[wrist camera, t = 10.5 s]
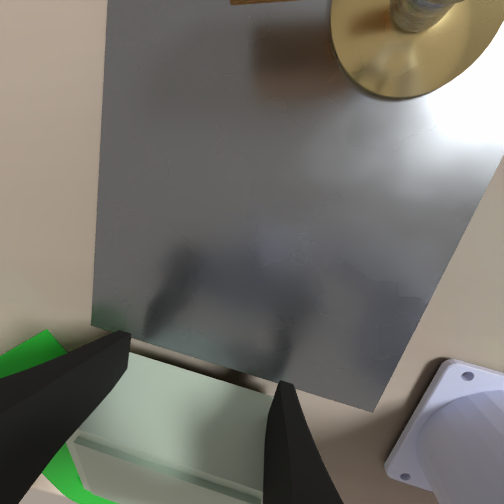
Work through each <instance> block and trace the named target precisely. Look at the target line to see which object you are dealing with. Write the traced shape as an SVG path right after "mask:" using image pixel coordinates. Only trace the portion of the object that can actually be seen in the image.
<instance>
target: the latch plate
mask: <svg viewBox="0 0 504 504" xmlns="http://www.w3.org/2000/svg"><path fill="white" fill-rule="evenodd" d="M503 155H504V0H465V1H462V2H459V3H455V5H454V6H453V7H452V8H451V9H450V10H449V11H448V12H447V13H446V14H445V16H444V17H443V18H442V19H441V20H440V21H439V22H438V23H437V24H435V25H434V26H432V27H430V28H429V29H426V30H424V31H420V32H409V31H406V30H403V29H402V28H400V27H399V26H398V25H397V24H396V23H395V22H394V20H393V18H392V16H391V12H390V0H299V1H286V2H272V3H258V4H245V5H231V4H230V0H108V7H107V26H106V46H105V65H104V85H103V105H102V124H101V144H100V163H99V183H98V203H97V222H96V242H95V261H94V281H93V301H92V320H91V325H92V326H95V327H98V328H101V329H104V330H108V331H111V332H116V331H118V330H121V331H125V332H128V333H131V338H134V339H137V340H140V341H143V342H146V343H150V344H153V345H156V346H159V347H163V348H166V349H169V350H172V351H175V352H179V353H182V354H185V355H188V356H192V357H195V358H198V359H201V360H205V361H208V362H211V363H214V364H217V365H221V366H224V367H227V368H230V369H234V370H237V371H240V372H243V373H246V374H250V375H253V376H256V377H259V378H263V379H266V380H269V381H272V382H275V383H279V380H282V381H285V382H288V383H292V384H293V385H294V387H295V389H298V390H301V391H305V392H308V393H311V394H314V395H317V396H321V397H324V398H327V399H330V400H334V401H337V402H340V403H343V404H346V405H350V406H353V407H356V408H359V409H363V410H366V411H369V412H372V413H373V412H374V410H375V408H376V406H377V404H378V402H379V400H380V398H381V396H382V394H383V392H384V390H385V388H386V386H387V384H388V382H389V380H390V378H391V376H392V374H393V372H394V370H395V368H396V366H397V364H398V362H399V360H400V358H401V356H402V354H403V352H404V350H405V348H406V346H407V344H408V342H409V340H410V339H411V337H412V335H413V333H414V331H415V329H416V327H417V325H418V323H419V321H420V319H421V317H422V315H423V313H424V311H425V309H426V307H427V305H428V303H429V301H430V299H431V297H432V295H433V293H434V291H435V289H436V287H437V285H438V283H439V281H440V279H441V277H442V275H443V273H444V271H445V269H446V267H447V265H448V263H449V261H450V259H451V257H452V255H453V254H454V252H455V250H456V248H457V246H458V244H459V242H460V240H461V238H462V236H463V234H464V232H465V230H466V228H467V226H468V224H469V222H470V220H471V218H472V216H473V214H474V212H475V210H476V208H477V206H478V204H479V202H480V200H481V198H482V196H483V194H484V192H485V190H486V188H487V186H488V184H489V182H490V180H491V178H492V176H493V174H494V172H495V171H496V169H497V167H498V165H499V163H500V161H501V159H502V157H503Z"/></svg>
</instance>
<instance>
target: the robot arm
mask: <svg viewBox="0 0 504 504" xmlns="http://www.w3.org/2000/svg"><path fill="white" fill-rule="evenodd" d="M130 342H131V333H128V332H125V331H121V330H118V331H116V332H113V333H111V334H109V335H107V336H104V337H102V338H100V339H98V340H96V341H93V342H91V343H89V344H87V345H84V346H82V347H80V348H78V349H75V350H73V351H71V352H69V353H66V354H64V355H61V356H59V357H56V358H54V359H52V360H49V361H47V362H44V363H42V364H39V365H37V366H34V367H31V368H29V369H26V370H23V371H20V372H18V373H15V374H12V375H9V376H6V377H3V378H0V504H18V503H19V502H20V501H21V499H22V498H23V497H24V495H25V494H26V493H27V491H28V490H29V489H30V487H31V486H32V485H33V483H34V482H35V481H36V479H37V478H38V477H39V475H40V474H41V473H42V471H43V470H44V469H45V468H46V466H47V465H48V464H49V462H50V461H51V460H52V458H53V457H54V456H55V455H56V453H57V452H58V451H59V450H60V449H61V447H62V446H63V445H64V444H65V443H66V441H67V440H68V439H69V438H70V437H71V436H72V435H73V433H74V432H75V431H76V430H77V429H78V428H79V427H80V426H81V425H82V423H83V422H84V421H85V420H86V419H87V418H88V417H89V416H90V414H91V413H92V412H93V411H94V410H95V409H96V408H97V407H98V405H99V404H100V403H101V402H102V401H103V400H104V399H105V398H106V396H107V395H108V394H109V393H110V392H111V391H112V389H113V388H114V387H115V385H116V384H117V383H118V381H119V380H120V378H121V377H122V376H123V374H124V373H125V371H126V370H127V368H128V359H129V350H130ZM465 372H467V373H465ZM463 373H465V374H463ZM462 374H463V375H462ZM384 468H385V471H386V474H387V476H388V477H390V478H391V479H394V480H397V481H400V482H403V483H406V484H409V485H412V486H415V487H418V488H421V489H424V490H427V491H430V492H433V493H434V495H435V497H436V499H437V501H438V503H439V504H504V373H502V372H499V371H495V370H492V369H488V368H485V367H481V366H478V365H474V364H471V363H467V362H464V361H460V360H457V359H449V360H446V361H444V362H443V363H442V364H441V366H440V367H439V369H438V371H437V373H436V374H435V376H434V378H433V380H432V381H431V383H430V385H429V387H428V388H427V390H426V392H425V394H424V395H423V397H422V399H421V401H420V402H419V404H418V406H417V408H416V409H415V411H414V413H413V415H412V417H411V418H410V420H409V422H408V424H407V425H406V427H405V429H404V431H403V432H402V434H401V436H400V438H399V439H398V441H397V443H396V445H395V446H394V448H393V450H392V452H391V453H390V455H389V457H388V459H387V460H386V462H385V464H384ZM263 504H344V503H343V501H342V500H341V498H340V496H339V494H338V492H337V490H336V488H335V486H334V484H333V482H332V480H331V478H330V476H329V474H328V472H327V470H326V467H325V465H324V463H323V461H322V459H321V456H320V454H319V452H318V450H317V447H316V445H315V443H314V440H313V438H312V435H311V433H310V430H309V428H308V425H307V422H306V420H305V417H304V414H303V411H302V408H301V406H300V403H299V400H298V396H297V393H296V390H295V387H294V385H293V384H292V383H288V382H285V381H282V380H279V383H278V386H277V389H276V392H275V395H274V398H273V401H272V404H271V407H270V409H269V412H268V418H267V425H266V433H265V445H264V474H263Z"/></svg>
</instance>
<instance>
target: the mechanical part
mask: <svg viewBox="0 0 504 504" xmlns="http://www.w3.org/2000/svg"><path fill="white" fill-rule="evenodd" d="M66 353H67V352H66V351H65V350H64V348H63V347H62V346H61V345H60V344H59V343H58V341H57V340H56V339H55V338H54V337H53V336H52V335H51V333H50V332H49V331H48V330H47V329H46V330H44V331H43V332H41V333H39V334H38V335H36V336H34V337H32V338H31V339H29V340H27V341H25V342H24V343H22V344H20V345H19V346H17V347H15V348H13V349H12V350H10V351H8V352H6V353H5V354H3V355H1V356H0V378H3V377H6V376H9V375H12V374H15V373H18V372H20V371H23V370H26V369H29V368H31V367H34V366H37V365H39V364H42V363H44V362H47V361H49V360H52V359H54V358H56V357H59V356H61V355H64V354H66ZM42 474H43V475H44V476H45V477H46V478H47V479H48V480H49V481H50V482H51V483H52V484H53V485H54V486H55V487H56V488H57V489H58V490H59V491H60V492H61V493H63V494H64V495H65V496H66V497H68V498H69V499H71V500H73V501H75V502H76V503H79V504H118V503H116V502H113V501H110V500H107V499H105V498H102V497H99V496H96V495H93V494H92V493H91V491H88V490H85V489H84V487H83V484H82V482H81V479H80V477H79V474H78V472H77V469H76V467H75V464H74V462H73V459H72V457H71V454H70V452H69V449H68V446H67V444H66V443H65V444H64V445H63V446H62V447H61V449H60V450H59V451H58V452H57V453H56V455H55V456H54V457H53V458H52V460H51V461H50V462H49V464H48V465H47V466H46V468H45V469H44V470H43V471H42Z"/></svg>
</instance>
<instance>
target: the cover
mask: <svg viewBox="0 0 504 504" xmlns="http://www.w3.org/2000/svg"><path fill="white" fill-rule="evenodd" d="M273 398H274V397H273V396H269V395H266V394H263V393H260V392H256V391H253V390H250V389H247V388H244V387H240V386H237V385H234V384H231V383H227V382H224V381H221V380H218V379H215V378H211V377H208V376H205V375H202V374H199V373H195V372H192V371H189V370H186V369H182V368H179V367H176V366H173V365H170V364H166V363H163V362H160V361H157V360H153V359H150V358H147V357H144V356H141V355H137V354H134V353H131V352H129V359H128V368H127V370H126V371H125V373H124V374H123V376H122V377H121V378H120V380H119V381H118V383H117V384H116V385H115V387H114V388H113V389H112V391H111V392H110V393H109V394H108V395H107V396H106V398H105V399H104V400H103V401H102V402H101V403H100V404H99V405H98V407H97V408H96V409H95V410H94V411H93V412H92V413H91V414H90V416H89V417H88V418H87V419H86V420H85V421H84V422H83V423H82V425H81V426H80V427H79V428H78V429H77V430H76V431H75V432H74V433H73V435H72V436H71V437H70V438H69V439H68V440H67V441H66V444H67V446H68V449H69V452H70V454H71V457H72V459H73V462H74V464H75V467H76V469H77V472H78V474H79V477H80V479H81V482H82V484H83V487H84V489H85V490H88V491H91V493H92V494H93V495H96V496H99V497H102V498H105V499H107V500H110V501H113V502H116V503H118V504H263V474H264V445H265V433H266V425H267V418H268V412H269V409H270V407H271V404H272V401H273Z"/></svg>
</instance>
